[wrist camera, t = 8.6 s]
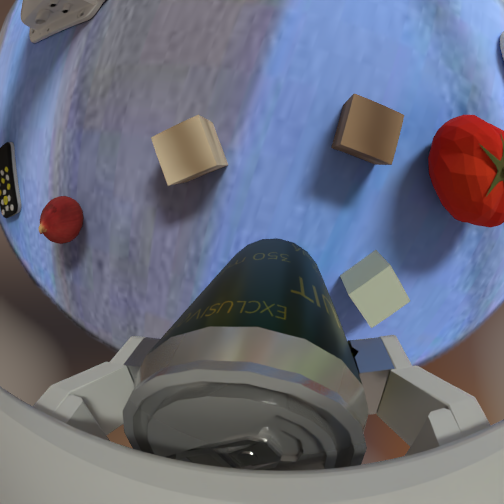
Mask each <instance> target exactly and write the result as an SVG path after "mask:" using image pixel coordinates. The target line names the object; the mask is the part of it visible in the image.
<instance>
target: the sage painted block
mask: <svg viewBox="0 0 504 504" xmlns="http://www.w3.org/2000/svg"><path fill="white" fill-rule="evenodd" d="M340 277H341V279H342V281H343V284H344V286H345V288H346V290H347V293H348V295H349V296H350V298H351V299H352V301H353V302H354V304H355V305H356V306H357V308H358V309H359V311H360V312H361V314H362V315H363V317H364V318H365V320H366V321H367V323H368V324H369V326H370V327H371V328H372V327H374V326H375V325H377V324H378V323H380V322H381V321H383V320H384V319H386V318H387V317H389V316H390V315H392V314H393V313H394V312H396V311H397V310H399V309H400V308H401V307H403V306H404V305H406V304H407V303H408V302H410V300H409V298H408V296H407V294H406V292H405V290H404V288H403V287H402V285H401V283H400V281H399V279H398V278H397V276H396V274H395V272H394V271H393V269H392V267H391V265H390V264H389V263H388V262H387V261H386V260H385V259H384V258H383V257H382V256H381V255H380V254H379V253H378V252H377V251H376V250H375V251H373V252H372V253H371V254H369V255H368V256H366V257H365V258H364V259H362V260H361V261H360V262H358V263H357V264H355V265H354V266H353V267H351V268H350V269H348V270H347V271H346V272H344V273H343V274H341V275H340Z"/></svg>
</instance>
